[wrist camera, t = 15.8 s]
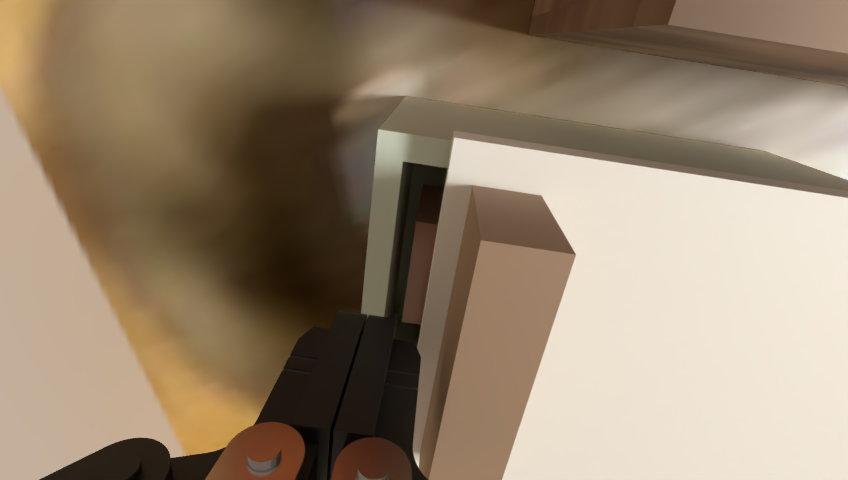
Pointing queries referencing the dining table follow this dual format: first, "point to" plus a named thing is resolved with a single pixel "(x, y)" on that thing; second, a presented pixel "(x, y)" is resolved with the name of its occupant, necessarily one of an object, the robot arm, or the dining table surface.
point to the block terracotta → (422, 253)
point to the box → (436, 122)
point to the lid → (631, 322)
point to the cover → (711, 32)
